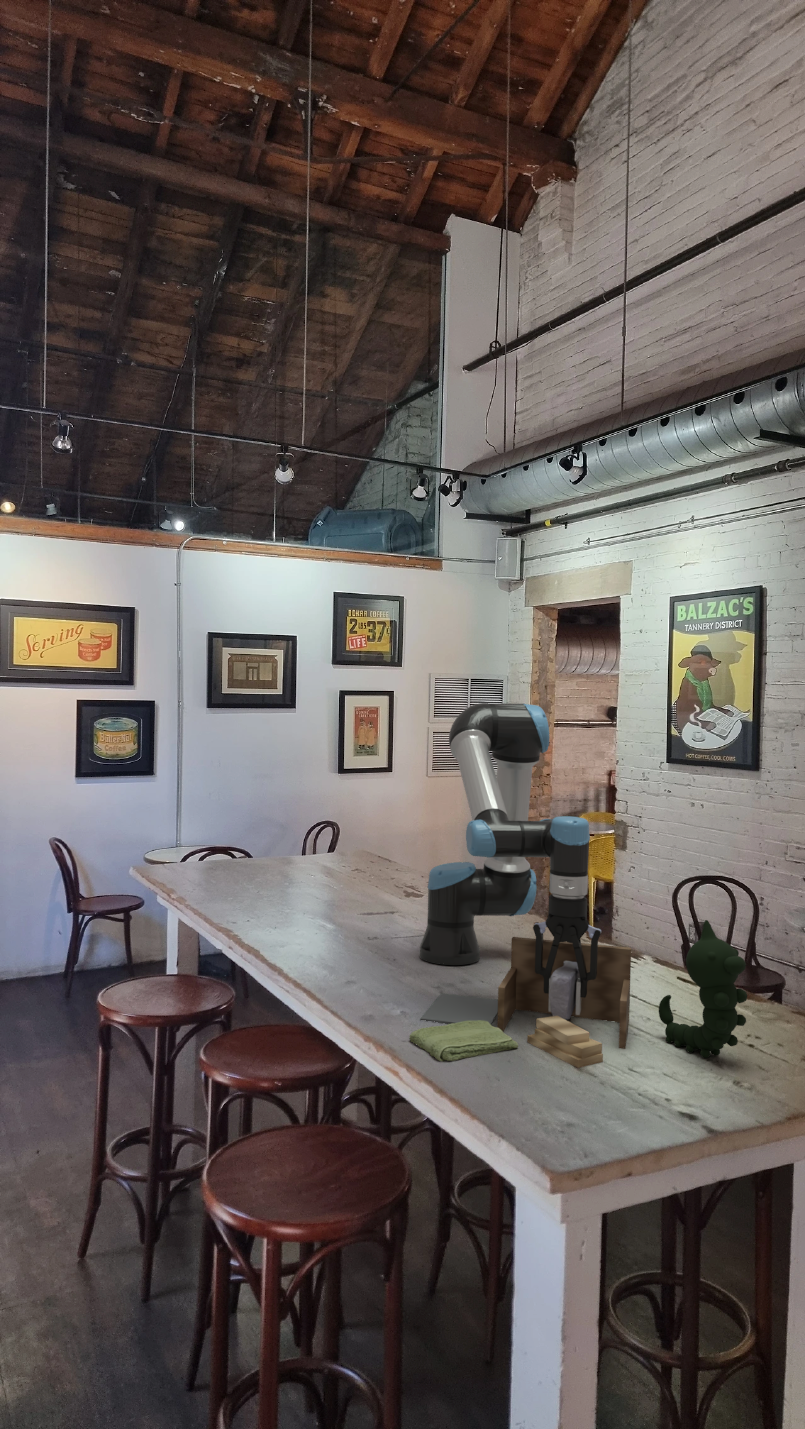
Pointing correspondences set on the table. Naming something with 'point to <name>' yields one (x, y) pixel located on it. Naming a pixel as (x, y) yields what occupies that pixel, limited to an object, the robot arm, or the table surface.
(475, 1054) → the washcloth
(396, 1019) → the table surface
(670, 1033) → the toy figurine
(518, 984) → the walnut rack
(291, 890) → the table surface
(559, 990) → the stone block
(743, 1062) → the table surface
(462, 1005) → the charcoal panel
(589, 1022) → the table surface
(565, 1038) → the offcut stack
